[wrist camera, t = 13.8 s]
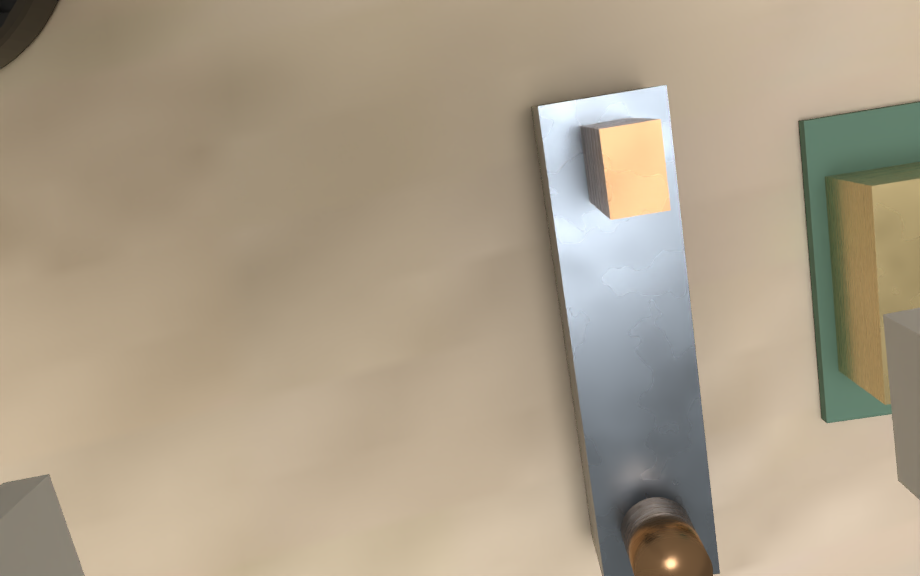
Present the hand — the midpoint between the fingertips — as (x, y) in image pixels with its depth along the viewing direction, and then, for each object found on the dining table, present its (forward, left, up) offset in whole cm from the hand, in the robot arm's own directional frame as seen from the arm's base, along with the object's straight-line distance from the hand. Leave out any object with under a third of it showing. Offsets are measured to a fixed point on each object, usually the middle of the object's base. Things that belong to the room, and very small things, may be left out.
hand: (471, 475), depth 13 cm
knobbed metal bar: (+5, +6, -26) cm, 27 cm away
